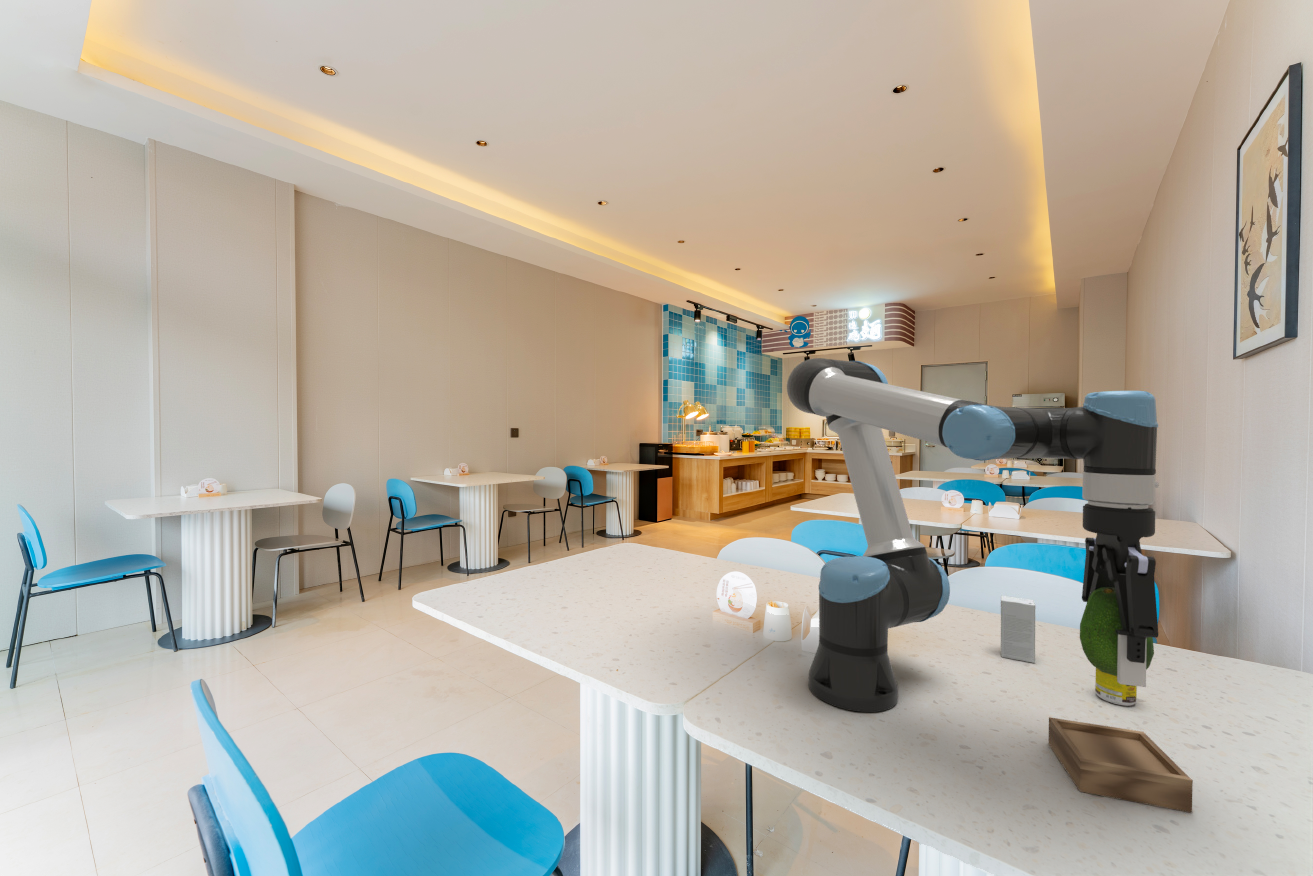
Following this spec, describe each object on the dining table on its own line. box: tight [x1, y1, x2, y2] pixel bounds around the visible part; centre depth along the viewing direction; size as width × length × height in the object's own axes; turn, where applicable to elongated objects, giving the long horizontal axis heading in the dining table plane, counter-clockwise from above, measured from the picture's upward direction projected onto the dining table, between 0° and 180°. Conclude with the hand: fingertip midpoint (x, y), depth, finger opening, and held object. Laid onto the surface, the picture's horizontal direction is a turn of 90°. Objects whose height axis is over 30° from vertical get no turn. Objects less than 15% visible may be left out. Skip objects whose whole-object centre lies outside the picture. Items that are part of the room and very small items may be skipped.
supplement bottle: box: [1094, 667, 1138, 707], centre depth 95 cm, size 6×6×10 cm
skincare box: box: [1000, 595, 1036, 664], centre depth 113 cm, size 6×4×12 cm
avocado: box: [1079, 587, 1155, 676], centre depth 74 cm, size 8×8×12 cm
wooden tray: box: [1047, 716, 1194, 813], centre depth 74 cm, size 12×12×4 cm
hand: (1115, 670), depth 74 cm, fingers closed on avocado, 8 cm apart
